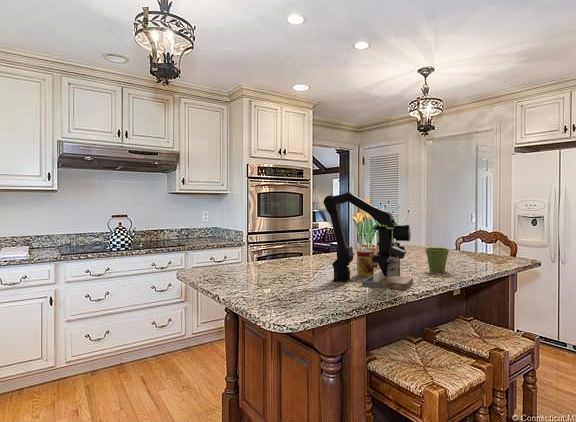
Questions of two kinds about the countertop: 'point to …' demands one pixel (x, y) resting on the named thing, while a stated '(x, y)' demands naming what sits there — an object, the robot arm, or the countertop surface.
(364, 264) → the canned food
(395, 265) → the coffee box
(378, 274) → the cream tile
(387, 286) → the plate
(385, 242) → the robot arm
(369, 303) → the countertop surface
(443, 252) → the plant pot
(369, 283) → the box
